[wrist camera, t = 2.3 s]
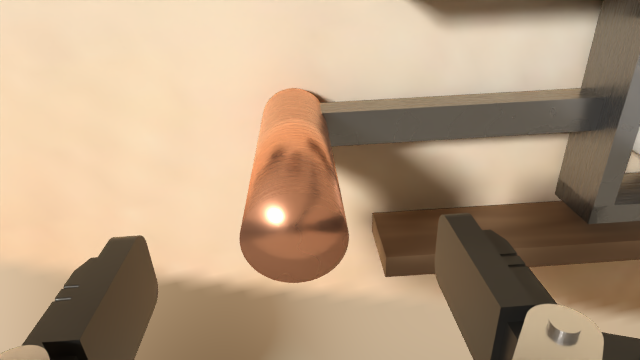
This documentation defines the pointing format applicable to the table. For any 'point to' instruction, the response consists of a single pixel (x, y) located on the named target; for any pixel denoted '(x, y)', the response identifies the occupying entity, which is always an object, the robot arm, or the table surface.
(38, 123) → the table surface
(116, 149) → the table surface
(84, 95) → the table surface
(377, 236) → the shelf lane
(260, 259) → the pull frame
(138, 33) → the table surface
